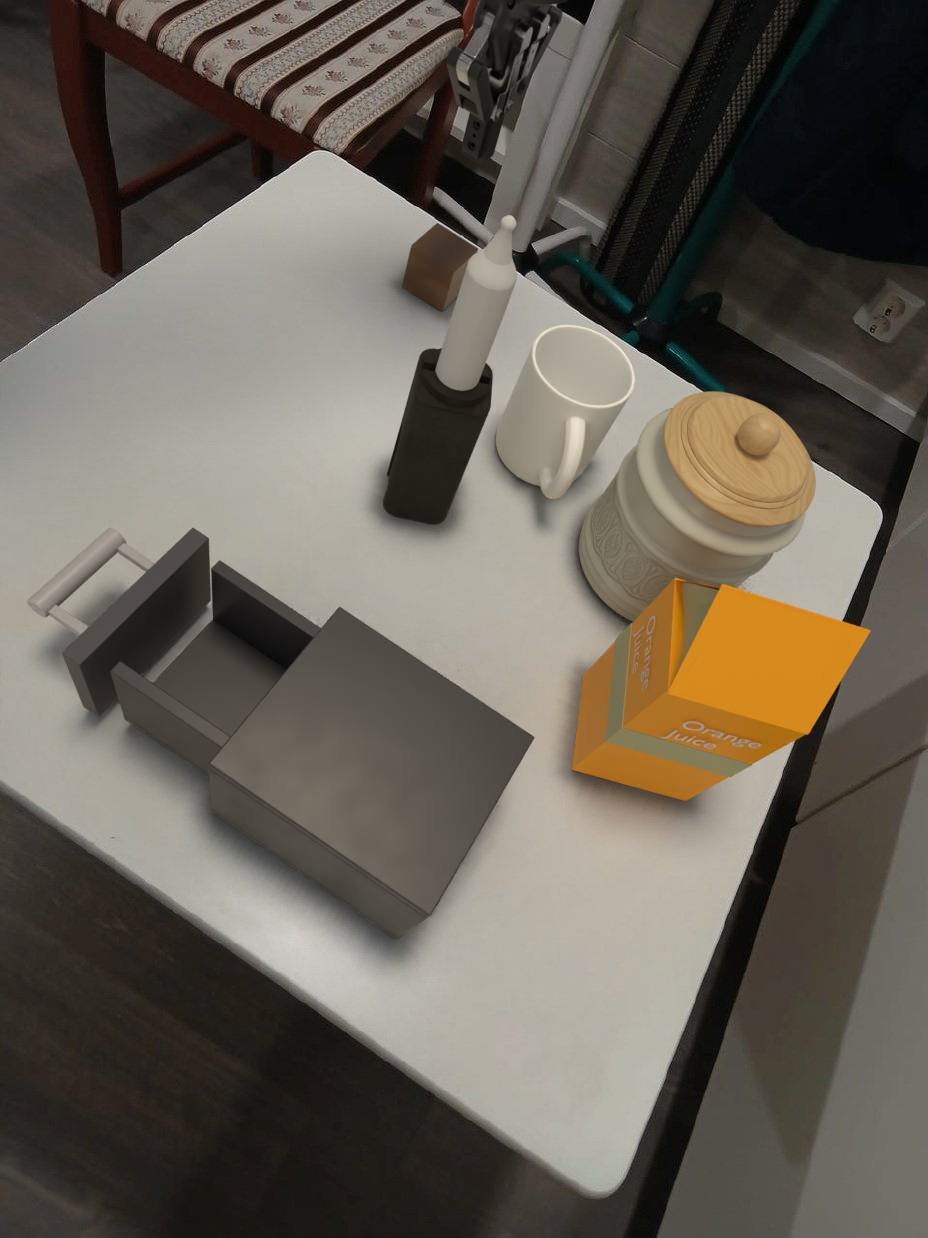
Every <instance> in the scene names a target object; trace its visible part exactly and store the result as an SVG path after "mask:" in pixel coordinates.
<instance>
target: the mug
mask: <svg viewBox="0 0 928 1238" xmlns="http://www.w3.org/2000/svg"><path fill="white" fill-rule="evenodd" d="M635 375H636V374H635V370H634V367H633V365H632V362H631V360H630V359H629V357H628V356H627V354H626V353H625V351H623V349H622V348H621V347H620V346H619V345H618V344H616V342H614V341H613V340H612V339H610V338H609V337H608V336H606V335H604V334H603V333H600V332H599V331H596V330H595V329H592V328H589V327H585V326H582V325H575V324H559V325H554V326H552V327H549V328H547V329H545V330H544V331H542V332H541V333H540V334H539V335H537V337H536V338H535V339H534V342H533V343H532V345H531V348H530V351H529V353H528V355H527V358H526V360H525V362H524V364H523V367H522V368H521V371H520V373H519V376H518V378H517V380H516V383H515V385H514V387H513V390H512V392H511V394H510V397H509V399H508V401H507V403H506V406H505V408H504V411H503V413H502V415H501V418H500V420H499V422H498V426H497V428H496V433H495V446H496V450H497V453H498V456H499V458H500V460H501V461H502V463H503V464H504V465H505V467H506V469H508V470H509V471H510V472H511V473H512V474H514V475H515V477H517V478H519V479H520V480H522V481H524V482H526V483H528V484H531V485H533V486H536V487H537V486H538V487H540V490H541V492H542V494H543V495H544V496H545V497H546V498H548V499H550V500H556V499H559V498H561V497H562V496H564V495H565V494H566V492H567V491H568V489H570V487H571V485H572V483H573V482H574V481H575V480H577V479H578V478H579V477H580V476H581V475H582V474H583V473H584V472H585V470H586V468H587V467H588V465H589V464H590V462H591V460H592V459H593V457H594V455H595V454H596V453H597V451H598V449H599V447H600V446H601V444H602V443H603V441H604V439H605V438H606V436H607V434H608V433H609V431H610V429H611V428H612V426H613V425H614V423H615V422H616V420H617V418H618V417H619V415H620V413H621V411H622V410H623V408H624V407H625V406H626V403H627V402H628V400H629V398H631V395H632V394H633V392H634V389H635V384H636V376H635Z"/></svg>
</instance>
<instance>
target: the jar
mask: <svg viewBox="0 0 928 1238" xmlns="http://www.w3.org/2000/svg"><path fill="white" fill-rule="evenodd" d="M816 480H817V479H816V472H815V467H814V465H813V461H812V459H811V457H810V454H809V453H808V451H807V449H806V447H805V445H804V444H803V442H802V441H801V439H800V438H799V437H798V435H797V433H796V432H795V431H794V430H793V429H792V427H791V426H790V425H789V423H787V422H786V421H785V420H784V419H783V418H782V417H781V416H779V415H778V414H777V413H775V412H774V411H773V410H771V409H769V408H768V407H767V406H765V405H763V404H761V403H759V402H756V401H755V400H752V399H749V398H747V397H744V396H742V395H741V396H740V395H738V394H735V393H729V392H724V391H702V392H696V393H692V394H690V395H688V396H685V397H684V398H682V399H681V400H680V401H678V402H677V403H676V404H674V405H673V407H671V408H667V409H665V410H663V411H661V412H659V413H657V414H656V415H655V416H654V417H653V418H651V419H650V420H649V421H648V422H647V424H645V426H644V427H643V429H642V430H641V433H640V435H639V437H638V440H637V444H636V445H635V446H633V447H632V448H631V449H630V450H629V451H628V452H627V453H626V455H625V457H624V458H623V459H622V462H621V463H620V466H619V468H618V471H617V472H616V473H615V475H614V477H613V478H612V479H611V481H610V483H609V484H608V486H607V487H606V489H605V490H604V492H603V493H601V494H600V496H598V498H597V499H596V500H595V501H594V502H593V504H592V505H591V507H590V508H589V510H588V512H587V514H586V516H585V518H584V521H583V523H582V527H581V530H580V534H579V539H578V556H579V557H578V558H579V562H580V565H581V568H582V571H583V573H584V576H585V578H586V580H587V582H588V584H589V585H590V586H591V588H592V590H593V591H594V593H595V594H596V595H597V596H598V597H599V598H600V599H601V601H602V602H604V604H606V605H607V606H608V607H609V608H610V609H612V610H613V611H614V612H615V613H617V614H618V615H620V616H621V617H624V618H625V619H627V620H628V621H631V623H633V622H634V621H635V620H636V619H637V618H638V617H639V616H640V614H641V613H642V612H643V611H644V610H645V609H646V608H647V607H648V606H649V605H650V604H651V603H652V602H653V601H654V600H655V598H656V597H657V596H658V595H659V594H660V593H661V592H662V591H663V590H664V589H665V588H666V587H667V586H668V585H669V584H670V582H671V581H672V580H673V579H674V578H678V579H681V580H684V581H688V582H694V583H700V584H707V585H713V586H720V587H721V585H722V584H725V585H728V586H731V587H734V588H738V589H739V587H740V586H741V585H742V584H744V582H746V581H747V580H748V579H749V578H750V577H752V576H754V575H756V574H757V573H759V572H760V571H761V570H762V569H763V568H764V567H765V566H767V564H768V563H769V562H770V561H771V560H772V557H773V556H774V554H775V553H777V552H780V551H782V550H783V549H785V548H786V547H788V546H789V545H790V544H791V543H792V542H793V541H794V540H795V539H796V537H797V536H798V535H799V533H800V532H801V529H802V527H803V526H804V523H805V518H806V511H808V509H809V508H810V506H811V505H812V503H813V500H814V498H815V493H816V486H817V481H816Z"/></svg>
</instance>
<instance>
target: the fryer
mask: <svg viewBox="0 0 928 1238" xmlns="http://www.w3.org/2000/svg"><path fill="white" fill-rule="evenodd" d="M320 628H321V629H320V630H319V631H318V633H317V634H316V635H315V636H314V637H313V639H312V640H311V641H310V642H309V643H308V645H307V646H306V647H305V648H304V649H303V651H302V652H301V653H300V654H299V655H298V657H297V658H296V659H295V660H294V661H293V663H292V664H291V665H290V666H289V667H288V669H287V670H286V671H285V672H284V673H283V674H282V676H281V677H280V678H279V679H278V680H277V682H276V683H275V684H274V685H273V686H272V688H271V689H270V690H269V691H268V692H267V694H266V695H265V696H264V697H263V698H262V700H261V701H260V702H259V703H258V704H257V706H256V707H255V708H254V709H253V710H252V712H251V713H250V714H249V715H248V716H247V718H246V719H245V720H244V721H243V722H242V724H241V725H240V726H239V727H238V728H237V730H236V731H235V732H234V733H233V734H232V736H231V737H230V738H229V739H228V740H227V742H226V743H225V744H224V745H223V746H222V748H221V749H220V750H219V751H218V752H217V754H216V755H215V756H214V757H213V758H212V760H211V761H210V762H209V777H208V779H209V793H210V808H211V809H210V810H211V813H213V814H214V815H215V816H217V817H218V818H220V819H221V820H223V821H224V822H226V824H228V825H230V826H231V827H233V829H235V830H237V831H238V832H240V833H241V834H242V835H244V836H246V837H247V838H249V839H250V840H251V841H253V842H254V843H256V844H257V845H259V846H260V847H261V848H263V849H264V850H266V851H267V852H268V853H270V854H272V855H273V856H274V857H276V858H277V859H279V860H280V861H282V862H283V863H284V864H286V865H288V866H289V867H290V868H292V869H293V870H295V871H296V872H298V873H299V874H300V875H302V876H304V877H305V878H306V879H308V880H309V881H311V882H312V883H314V884H315V885H317V886H318V887H319V888H320V889H322V890H324V891H325V892H327V893H328V894H329V895H331V896H332V897H334V898H335V899H337V900H338V901H340V903H343V904H344V905H346V906H347V907H348V908H350V909H351V910H353V911H354V912H355V913H357V914H358V915H360V916H361V917H363V918H364V919H366V920H367V921H369V922H370V923H371V924H373V926H376V927H377V928H379V929H380V930H382V931H383V932H384V933H385V934H387V935H389V936H390V937H392V938H393V939H395V940H397V939H399V938H400V937H403V936H404V935H405V934H407V933H408V932H409V931H412V930H413V929H414V928H415V927H417V926H418V925H420V924H421V923H423V922H424V921H425V920H427V919H428V918H430V917H431V916H432V915H433V913H434V911H436V910H435V909H436V908H437V906H438V905H439V903H440V901H441V899H442V897H443V896H444V894H445V892H446V891H447V889H448V887H449V885H450V884H451V882H452V880H453V879H454V877H455V875H456V874H457V873H458V870H459V869H460V867H461V865H462V864H463V862H464V860H465V858H466V857H467V855H468V853H469V851H470V850H471V848H472V846H473V844H474V843H475V841H476V839H477V838H478V836H479V834H480V833H481V831H482V830H483V828H484V826H485V824H486V822H487V820H488V819H489V817H490V815H491V814H492V812H493V810H494V809H495V807H496V805H497V803H498V801H499V800H500V798H501V796H502V795H503V793H504V792H505V789H506V788H507V786H508V784H509V782H510V781H511V779H512V778H513V776H514V774H515V772H516V771H517V769H518V767H519V766H520V764H521V762H522V760H523V758H524V757H525V755H526V754H527V752H528V750H529V748H530V747H531V745H532V743H533V742H534V740H535V736H534V735H532V734H531V733H530V732H529V731H527V730H525V729H523V728H522V727H520V726H519V725H517V724H516V723H514V722H513V721H512V720H510V719H508V718H507V717H506V716H504V715H503V714H501V713H500V712H498V711H497V710H495V709H494V708H492V707H490V706H489V705H488V704H486V703H484V702H483V701H482V700H480V699H478V698H477V697H476V696H474V695H472V694H471V693H470V692H468V691H467V690H465V689H463V688H462V687H460V686H459V685H458V684H456V683H454V682H453V681H452V680H450V679H449V678H447V677H446V676H444V675H443V674H441V673H440V672H438V671H437V670H436V669H434V668H432V667H431V666H429V665H428V664H426V663H425V662H423V661H422V660H420V659H419V658H418V657H416V656H415V655H413V654H412V653H410V652H408V651H407V650H406V649H404V648H403V647H401V646H400V645H398V644H396V643H395V642H394V641H392V640H391V639H389V638H387V637H386V636H384V635H383V634H381V632H379V631H377V630H376V629H375V628H372V627H371V626H370V625H368V624H367V623H365V622H364V621H362V620H361V619H359V618H358V617H356V616H355V615H353V614H352V613H350V612H349V611H347V610H345V608H343V607H341V606H338V608H336V609H335V610H334V612H333V613H332V614H331V616H330V617H329V618H328V619H327V620H326V622H325V623H324V624H323V625H322V626H321V627H320Z"/></svg>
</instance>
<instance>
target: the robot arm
mask: <svg viewBox="0 0 928 1238" xmlns="http://www.w3.org/2000/svg"><path fill="white" fill-rule="evenodd" d="M568 1H569V0H479V1H478V2H477V4H476V6H475V10H474V14H473V18H472V28H473V29H472V30H473V34H472V37H471V38H470V40H469V42H468V43H467V45H466V47H465V48H464V50H463V49H461V48H459V47H458V46H456V45H454V46H452V47H451V48H450V50H449V52H448V54H447V58H446V67H447V71H448V75H449V79H450V84H451V87H452V91H453V96H454V99H455V103H456V106H458V107H459V108H461V109H462V110H463V109H464V110H465V111H467V112H469V114H468V118H467V121H466V126H465V129H464V134H463V138H462V142H461V146H460V151H461V153H462V155H463V156H464V157H466V158H468V159H469V160H471V161H473V162H474V163H476V164H477V165H479V166H481V165H484V164H485V163H486V162H487V161H489V160H490V159H491V158H492V157H493V156H494V155H495V151H496V148H497V145H498V141H499V137H500V133H501V129H502V127H503V123H504V119H505V117H506V116H505V115H506V114H507V113H508V112H510V110H511V109H512V107H513V105H514V101H515V98H516V96H517V95H518V96H522V95H523V94H524V92H525V91H526V90H527V87H528V85H529V83H530V81H531V79H532V78H533V75H534V73H535V71H536V69H537V67H538V66H539V64H540V62H541V59H542V58H543V56H544V54H545V52H546V50H547V48H548V46H549V45H550V42H551V40H552V38H553V36H554V35H555V33H556V30H557V29H558V27H559V25H560V24H561V21H562V19H563V14H564V12H563V10H562V9H560V8H558V7H557V6H555V5H558V4H562V3H566V2H568Z"/></svg>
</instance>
